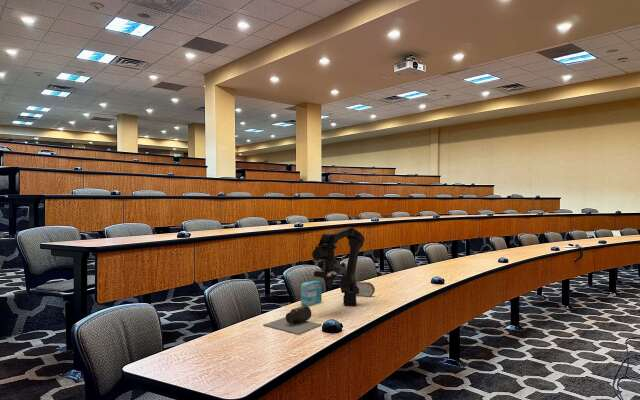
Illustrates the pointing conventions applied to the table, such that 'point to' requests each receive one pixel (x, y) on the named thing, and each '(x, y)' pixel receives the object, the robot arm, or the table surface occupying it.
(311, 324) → the mat
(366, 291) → the beige rounded slab
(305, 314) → the supplement bottle
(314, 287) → the data package
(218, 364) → the table surface
